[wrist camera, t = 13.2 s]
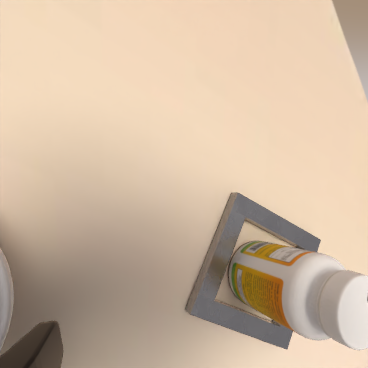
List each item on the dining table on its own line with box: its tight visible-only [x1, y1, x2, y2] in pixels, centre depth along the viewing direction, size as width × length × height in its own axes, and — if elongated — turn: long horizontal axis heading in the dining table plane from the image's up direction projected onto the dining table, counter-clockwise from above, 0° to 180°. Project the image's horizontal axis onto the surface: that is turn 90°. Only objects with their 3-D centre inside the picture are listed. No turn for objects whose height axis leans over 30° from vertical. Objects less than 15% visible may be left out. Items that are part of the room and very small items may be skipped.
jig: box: [185, 193, 321, 349], centre depth 24 cm, size 10×10×1 cm
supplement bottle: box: [229, 241, 368, 350], centre depth 20 cm, size 5×5×10 cm
